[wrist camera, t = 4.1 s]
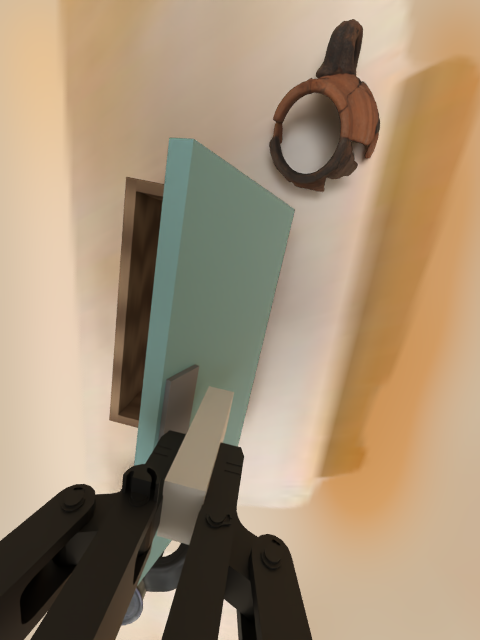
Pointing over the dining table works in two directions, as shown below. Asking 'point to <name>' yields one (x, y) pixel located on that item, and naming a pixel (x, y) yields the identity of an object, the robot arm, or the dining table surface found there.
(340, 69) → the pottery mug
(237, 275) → the lid
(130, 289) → the storage box
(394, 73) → the dining table surface
